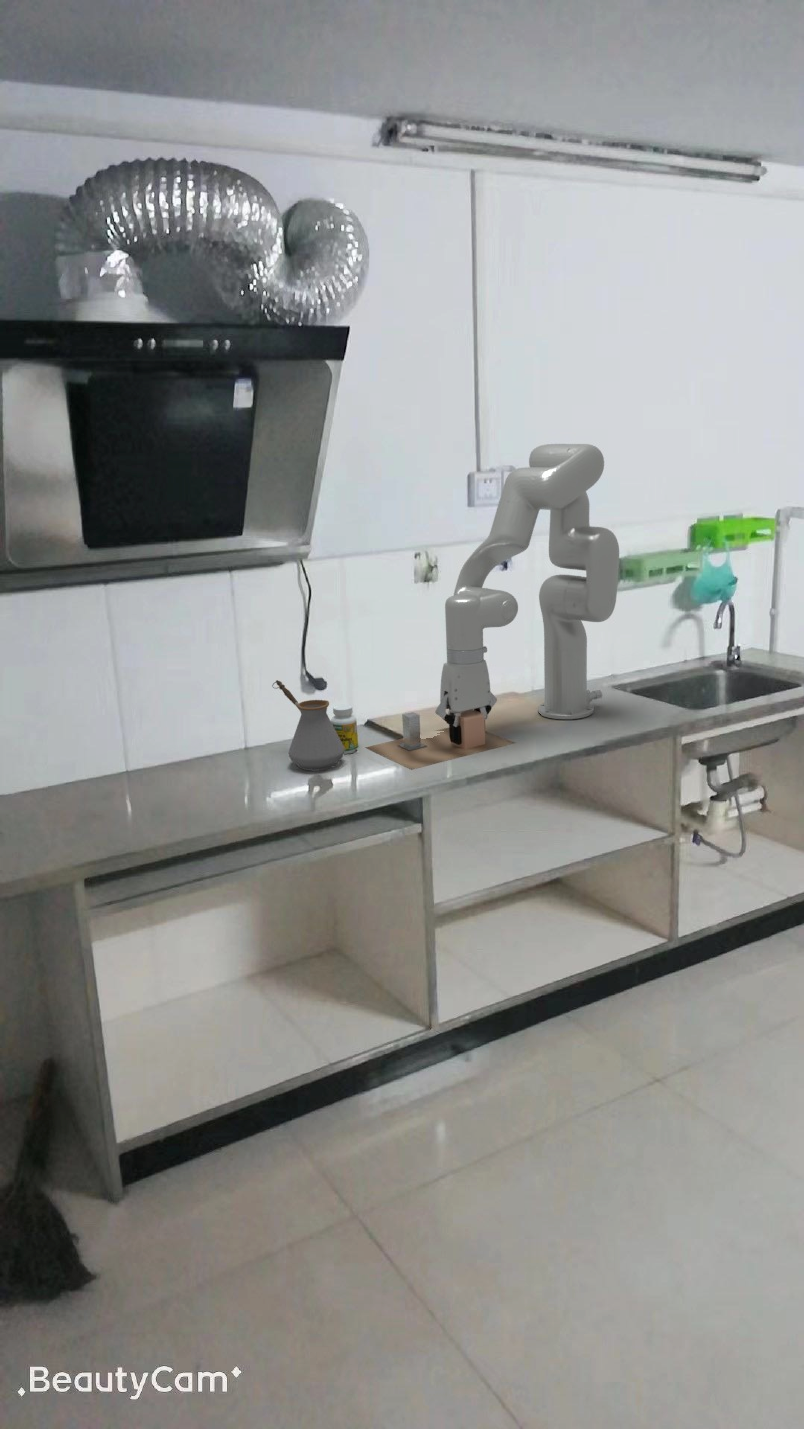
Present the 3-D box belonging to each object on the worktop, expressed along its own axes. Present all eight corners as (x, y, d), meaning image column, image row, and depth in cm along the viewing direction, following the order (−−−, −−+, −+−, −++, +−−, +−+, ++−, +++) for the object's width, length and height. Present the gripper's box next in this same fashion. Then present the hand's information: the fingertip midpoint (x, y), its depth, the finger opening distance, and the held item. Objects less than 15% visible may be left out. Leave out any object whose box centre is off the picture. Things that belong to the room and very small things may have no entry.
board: (465, 726, 235) (465, 723, 234) (515, 746, 220) (515, 742, 220) (365, 751, 221) (364, 747, 221) (411, 773, 207) (411, 769, 207)
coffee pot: (356, 765, 213) (351, 693, 209) (306, 778, 207) (301, 704, 203) (304, 741, 230) (299, 674, 226) (257, 752, 224) (251, 684, 220)
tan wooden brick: (470, 738, 224) (469, 708, 222) (485, 744, 220) (484, 713, 218) (450, 743, 221) (449, 713, 219) (464, 749, 217) (464, 718, 215)
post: (415, 741, 223) (413, 710, 221) (426, 746, 220) (425, 714, 218) (397, 746, 221) (396, 714, 219) (409, 751, 217) (407, 718, 215)
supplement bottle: (360, 746, 225) (357, 703, 222) (356, 754, 220) (353, 710, 217) (335, 746, 225) (332, 703, 223) (331, 755, 220) (328, 711, 217)
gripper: (487, 646, 223) (489, 728, 228) (420, 659, 214) (423, 744, 219) (509, 652, 216) (511, 736, 222) (441, 666, 208) (444, 753, 213)
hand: (467, 739), depth 220 cm, fingers open, 5 cm apart
